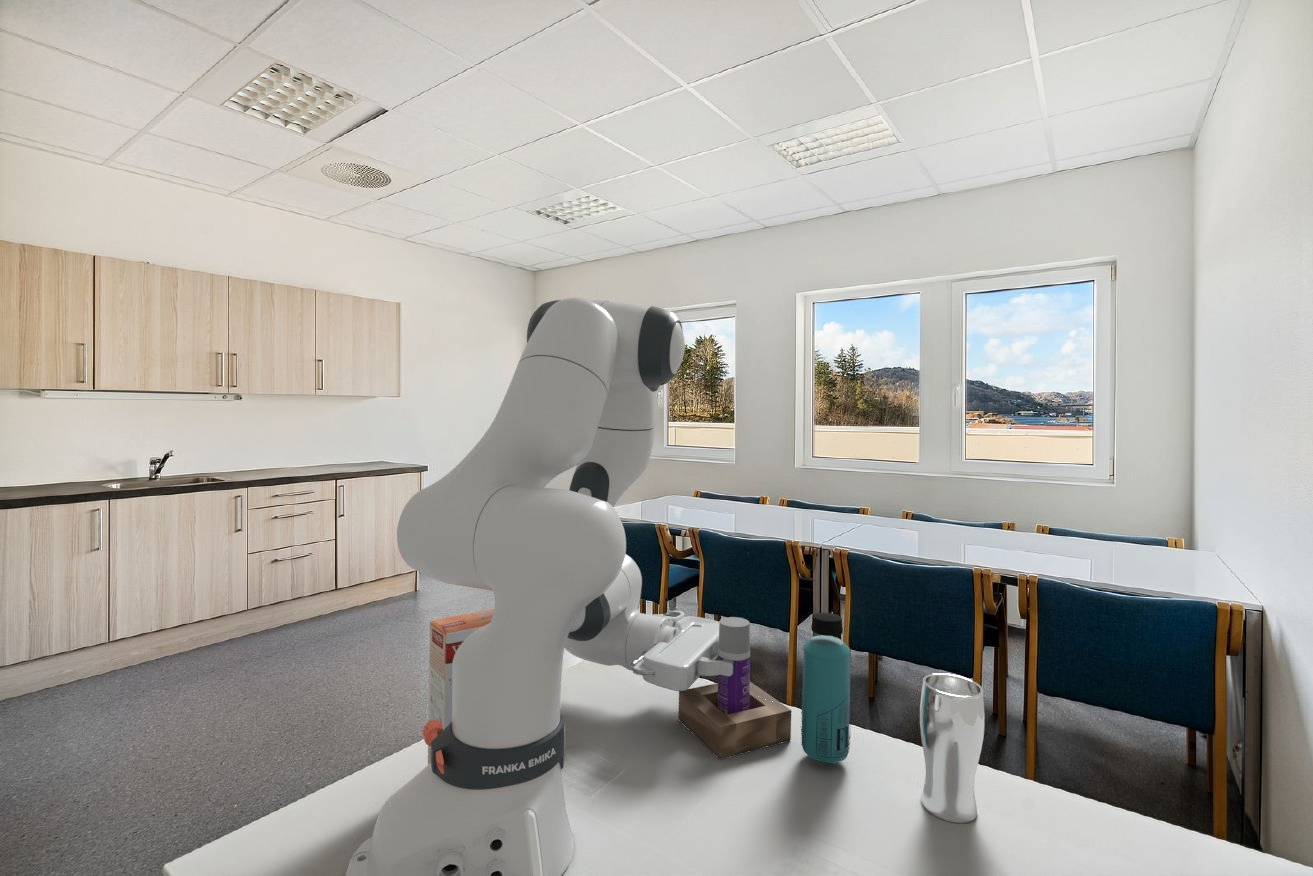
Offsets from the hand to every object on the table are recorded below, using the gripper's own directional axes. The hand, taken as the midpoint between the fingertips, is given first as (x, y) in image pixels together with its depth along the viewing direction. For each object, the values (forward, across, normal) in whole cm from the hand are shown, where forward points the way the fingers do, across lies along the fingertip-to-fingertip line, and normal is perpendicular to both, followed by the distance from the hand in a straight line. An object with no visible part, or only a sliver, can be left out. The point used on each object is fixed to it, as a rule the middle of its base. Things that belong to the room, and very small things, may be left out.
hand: (739, 661), depth 90 cm
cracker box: (-26, -25, +11) cm, 37 cm away
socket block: (-1, 0, +10) cm, 11 cm away
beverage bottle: (+13, -2, +11) cm, 17 cm away
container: (-1, 0, +9) cm, 9 cm away
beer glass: (+28, -6, +11) cm, 31 cm away
